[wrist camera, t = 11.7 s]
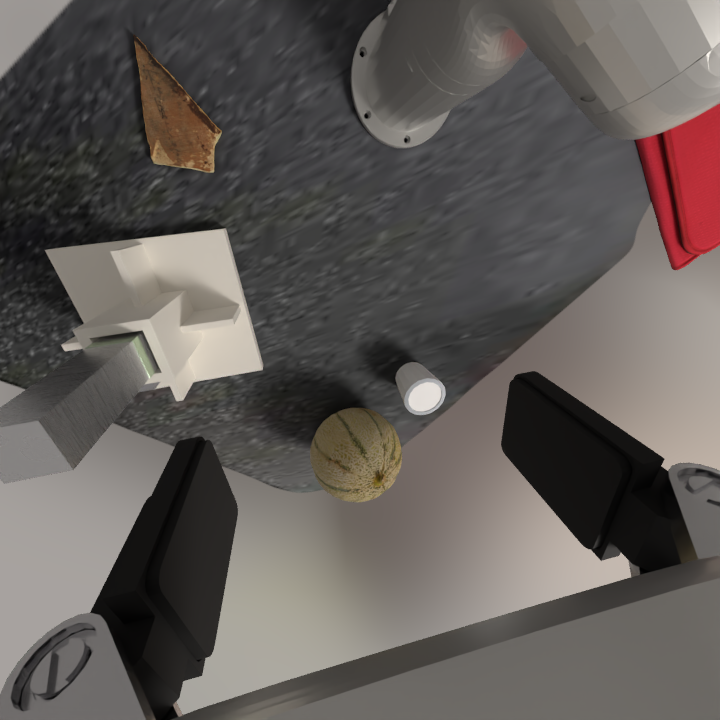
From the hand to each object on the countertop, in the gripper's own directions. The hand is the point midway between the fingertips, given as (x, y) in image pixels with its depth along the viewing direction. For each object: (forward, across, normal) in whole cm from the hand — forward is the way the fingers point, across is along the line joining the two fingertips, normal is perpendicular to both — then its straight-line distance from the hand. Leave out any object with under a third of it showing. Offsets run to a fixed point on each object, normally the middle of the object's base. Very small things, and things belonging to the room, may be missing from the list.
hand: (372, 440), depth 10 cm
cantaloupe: (+38, -2, +30) cm, 49 cm away
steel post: (+29, +20, +5) cm, 35 cm away
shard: (+39, +13, -16) cm, 44 cm away
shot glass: (+38, -14, +22) cm, 46 cm away
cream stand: (+38, +20, +5) cm, 43 cm away
